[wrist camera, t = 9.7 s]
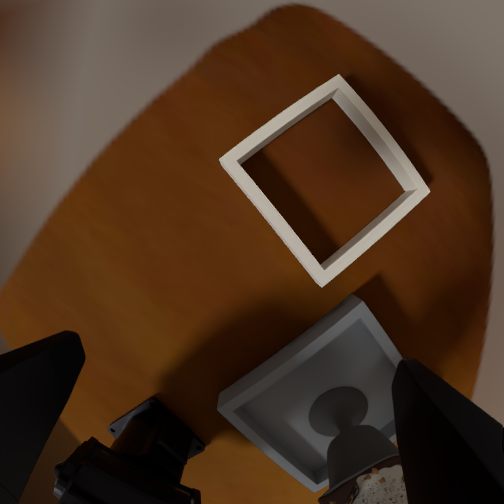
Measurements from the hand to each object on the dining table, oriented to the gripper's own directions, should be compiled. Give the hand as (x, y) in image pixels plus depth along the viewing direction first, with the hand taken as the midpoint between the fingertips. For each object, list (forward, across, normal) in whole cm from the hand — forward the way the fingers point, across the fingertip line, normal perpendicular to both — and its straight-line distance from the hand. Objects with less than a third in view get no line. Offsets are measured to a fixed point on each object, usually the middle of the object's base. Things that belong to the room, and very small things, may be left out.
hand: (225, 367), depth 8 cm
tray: (+12, -5, +14) cm, 19 cm away
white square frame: (+17, -4, -3) cm, 17 cm away
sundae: (+12, -6, +14) cm, 19 cm away
